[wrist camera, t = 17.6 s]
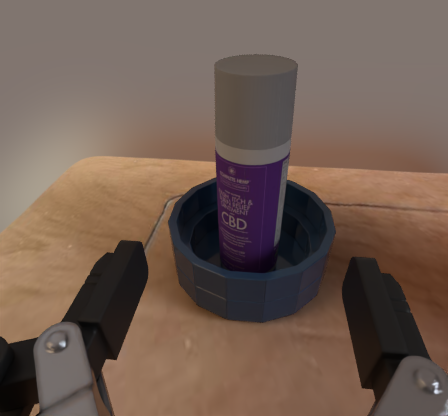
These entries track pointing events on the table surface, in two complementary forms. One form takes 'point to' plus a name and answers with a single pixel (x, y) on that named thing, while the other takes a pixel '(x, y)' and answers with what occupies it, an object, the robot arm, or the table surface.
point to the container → (252, 156)
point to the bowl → (248, 281)
